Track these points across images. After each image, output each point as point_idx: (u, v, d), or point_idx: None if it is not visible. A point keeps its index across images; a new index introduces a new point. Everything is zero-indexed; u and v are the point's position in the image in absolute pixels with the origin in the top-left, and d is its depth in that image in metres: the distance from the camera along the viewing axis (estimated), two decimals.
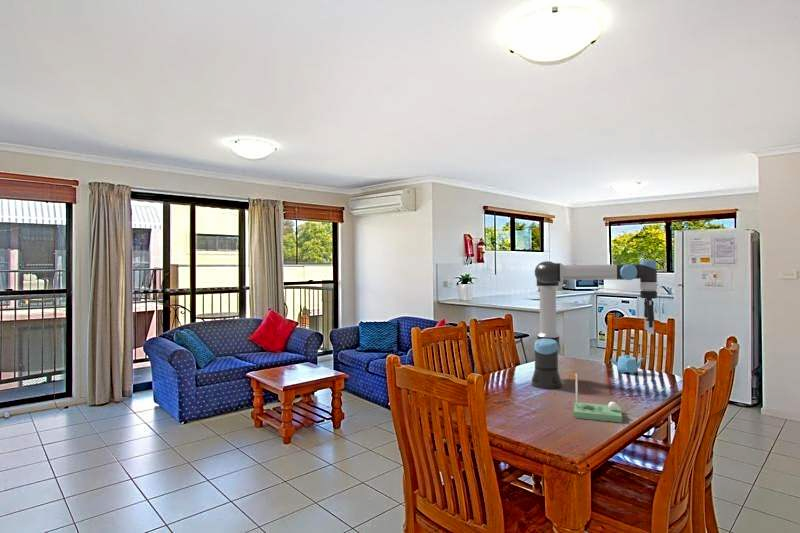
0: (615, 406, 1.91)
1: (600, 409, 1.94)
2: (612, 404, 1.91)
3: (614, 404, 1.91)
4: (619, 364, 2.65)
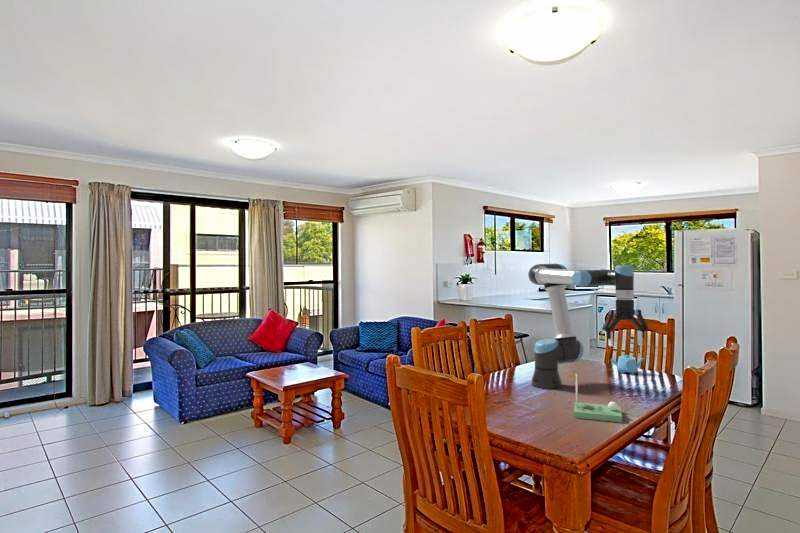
0: (615, 406, 1.91)
1: (600, 409, 1.94)
2: (612, 404, 1.91)
3: (614, 404, 1.91)
4: (619, 364, 2.65)
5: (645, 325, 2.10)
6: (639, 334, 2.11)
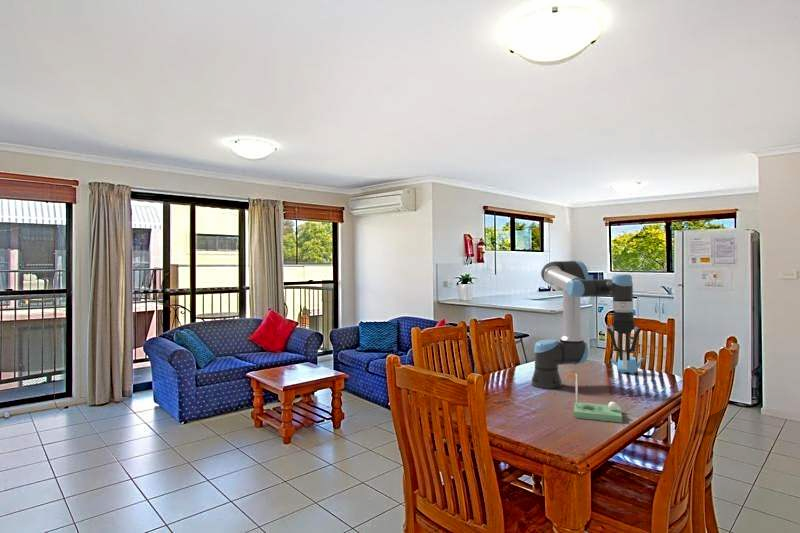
0: (615, 406, 1.91)
1: (600, 409, 1.94)
2: (612, 404, 1.91)
3: (614, 404, 1.91)
4: (619, 364, 2.65)
5: (633, 346, 1.90)
6: None
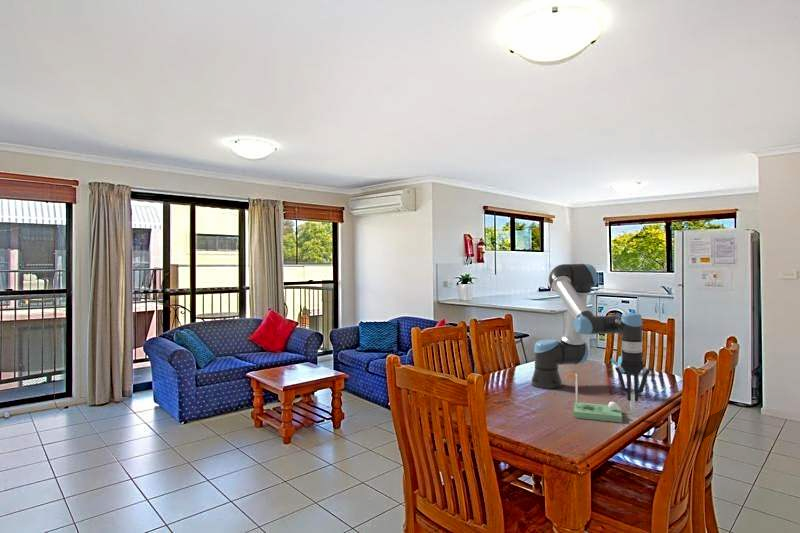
0: (615, 406, 1.91)
1: (600, 409, 1.94)
2: (612, 404, 1.91)
3: (614, 404, 1.91)
4: (619, 364, 2.65)
5: (642, 387, 1.87)
6: None
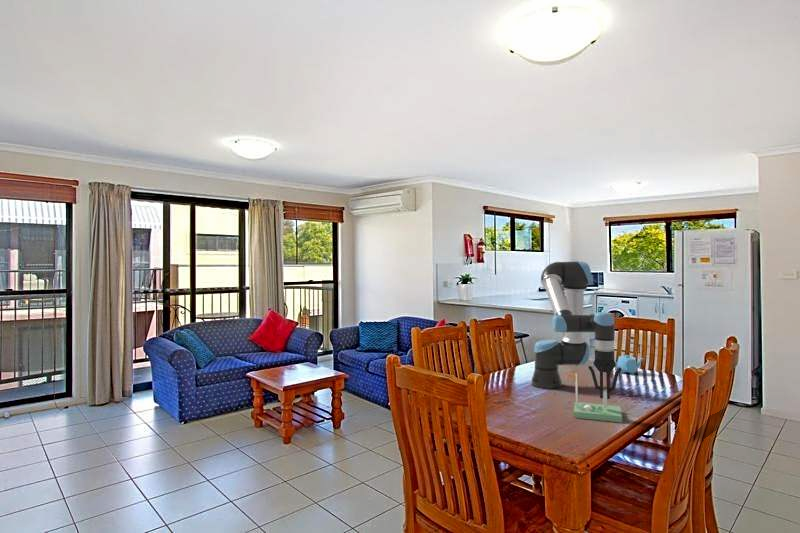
0: None
1: (600, 409, 1.94)
2: (588, 407, 1.94)
3: (590, 408, 1.94)
4: (619, 364, 2.65)
5: (613, 385, 1.91)
6: None
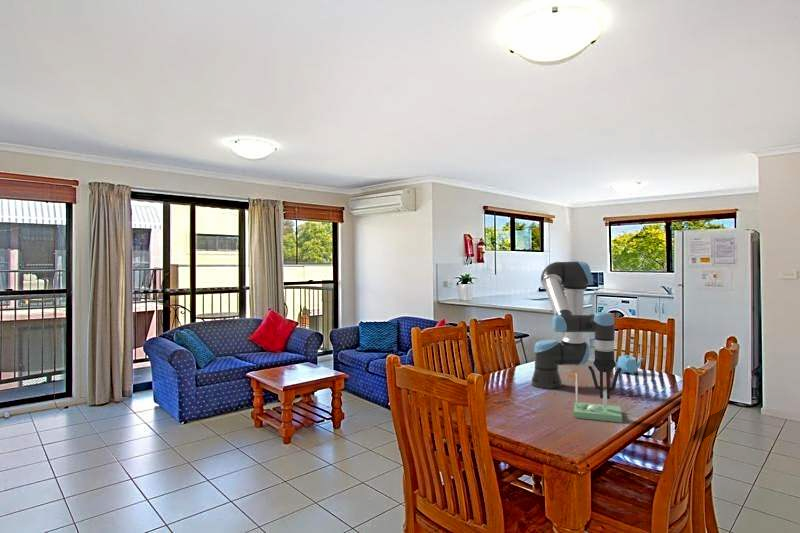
0: None
1: (600, 409, 1.94)
2: (594, 409, 1.94)
3: None
4: (619, 364, 2.65)
5: (613, 385, 1.91)
6: None
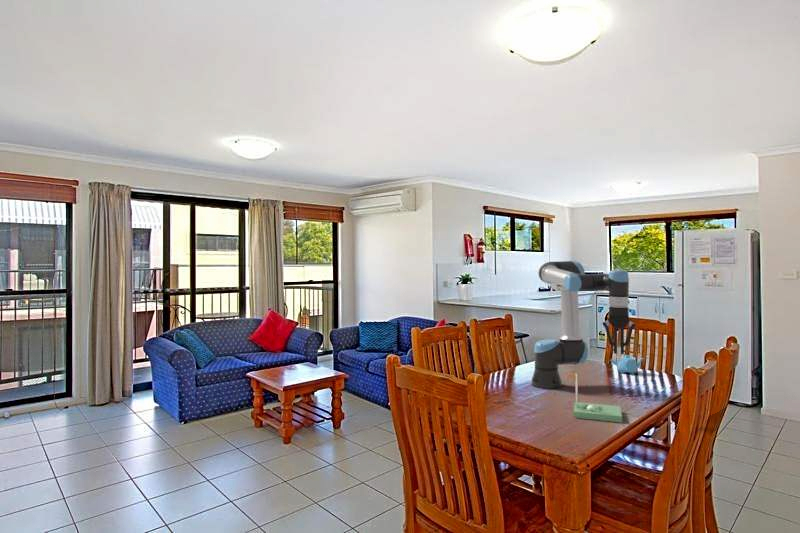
0: None
1: (600, 409, 1.94)
2: (593, 409, 1.94)
3: None
4: (619, 364, 2.65)
5: (627, 340, 1.95)
6: None
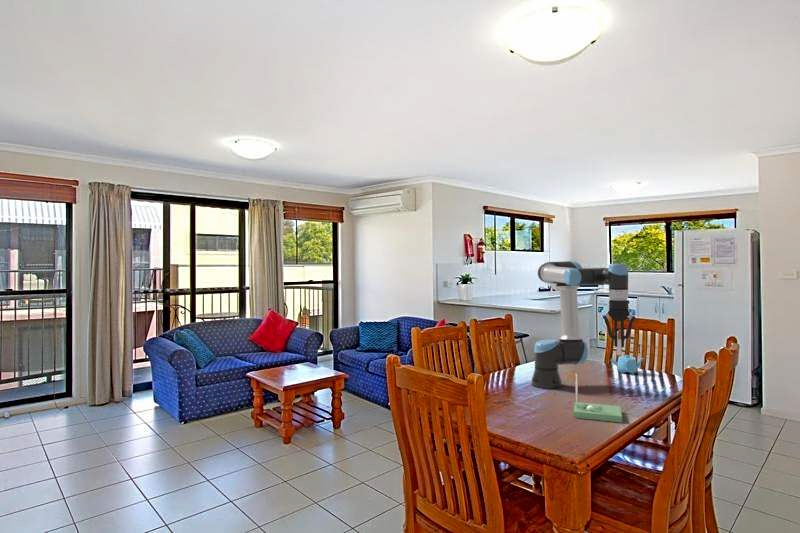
0: None
1: (600, 409, 1.94)
2: (593, 409, 1.94)
3: None
4: (619, 364, 2.65)
5: (628, 333, 1.96)
6: None
